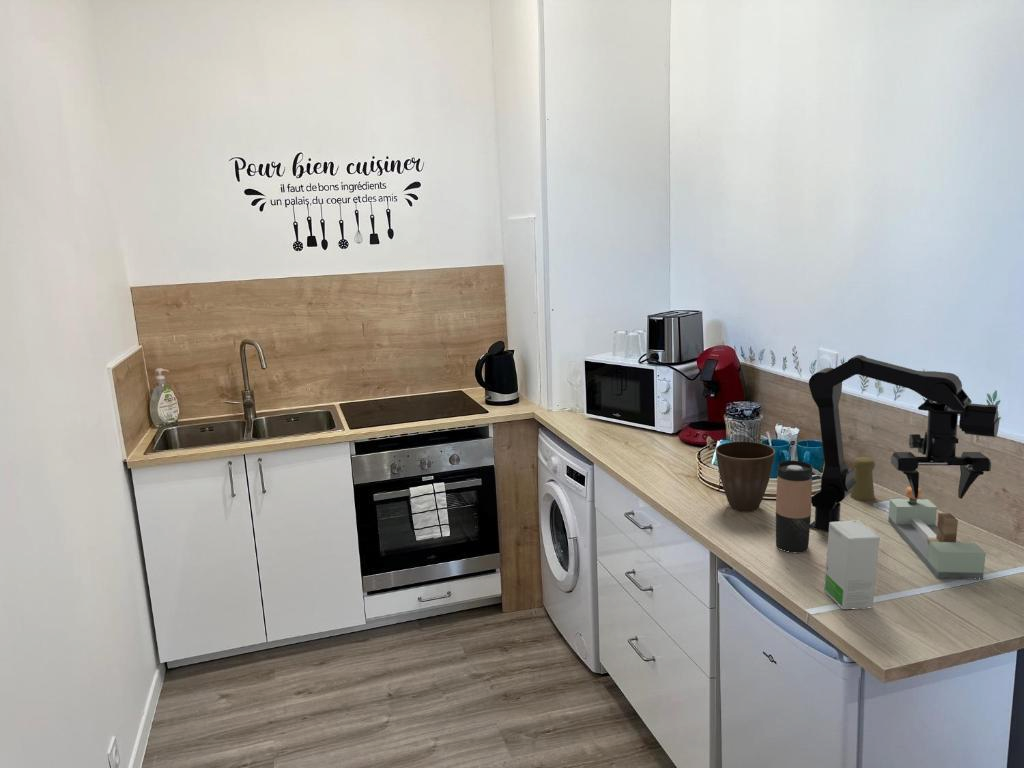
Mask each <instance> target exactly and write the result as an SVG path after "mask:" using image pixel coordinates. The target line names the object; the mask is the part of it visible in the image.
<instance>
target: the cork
mask: <svg viewBox="0 0 1024 768" xmlns="http://www.w3.org/2000/svg"><path fill="white" fill-rule="evenodd" d="M875 464H876V463H875V461H874V459H872V458H871V457H867V456H859V457H856V458H855V459H854V460H853V468H854V479H855V481H856V484H855V485H854V488H853V490H852V492H851V493H850V494H849V496H850V498H851V499H854V500H856V501H861V502H871V501H874V500H875V499H876V498H875V488H874V479H873V476H874V475H873V470H874V469H875V467H876V465H875Z"/></svg>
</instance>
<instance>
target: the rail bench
mask: <svg viewBox="0 0 1024 768" xmlns="http://www.w3.org/2000/svg"><path fill="white" fill-rule="evenodd" d="M909 499H910V498H908V499H906V498H904V499H903V498H902V499H901V498H897V499H896V498H895V499H894V498H890V499H889V507H888V508H889V509H888V521H887V522H888V523H889V525H890V526H891V527H892V528H893V529H894V530H895V532H896V533H897V534H898V535H899V536H900V537H901V539H902V540H903V541H904V542H905V543H906V544H907V545H908V547H909V548H910V549H911V550H912V551H913V552H914V553H915V555H916V556H917V557H918V558H919V559H920V561H921V562H922V563H923V564H924V566H925V567H926V568H927V569H928V570H929V571H930V572H931V573H932V575H933V576H935V578H936V579H946V580H947V579H951V580H954V578H955V579H956V578H973V579H972V580H984V572H985V563H986V551H984V550H983V549H982V547H980V546H979V545H978V544H977V543H976V542H965V541H964V542H960V541H959V542H930V546H928V545H927V544H926V541H927V537H930V538H936V536H937V524H936V521H937V512H938V511H937V509H938V508H937V507H938V506H937V505H935V504H934V503H933V502H932V501H931V500H930V499H927V498H926V499H923V498H922V499H921V498H920V499H917V505H910V504H909ZM974 578H976V579H974ZM979 578H980V579H979ZM956 580H957V579H956Z"/></svg>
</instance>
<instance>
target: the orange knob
mask: <svg viewBox="0 0 1024 768" xmlns="http://www.w3.org/2000/svg"><path fill="white" fill-rule="evenodd" d="M905 497H906V498H908V499H909V504H910V505H917V499H921V498H922V488H920V487H919V488H918V497H917V498H915V497H914V496H913V492H912V489H911V486H910V485H909V486H907V487H906V491H905Z"/></svg>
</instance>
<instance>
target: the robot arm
mask: <svg viewBox="0 0 1024 768" xmlns="http://www.w3.org/2000/svg"><path fill="white" fill-rule="evenodd" d="M856 375H858V376H863V377H866V378H870V379H873V380H877V381H881V382H883V383H888V384H891V385H895V386H899V387H902V388H905V389H909V390H912V391H914V392H915V393H917V394H918V395H920V396H921V397H923V398H925V400H924V402H923V403H921V404H920V405H919V406H917V409H918V410H919V411H925V412H926V411H927V423H926V424H927V425H926V426H927V427H926V428H927V429H926V431H925V432H924V437H922V436H921V434H918V433H917V434H913V433H911V434H909V439H908V445H909V448H910V449H917V453H918V454H919V453H920V454H922V455H925V456H915V455H914V454H913V452H911V451H894V452H893V453H892V455H891V459H890V460H891V461H890V463H891V465H892V466H894V468H895V469H896V470H897V471H900V472H902V473H903V475H906V478H907V479H908V483H909V487H910V486H911V489H912V492H913V496H914V497H915V498H917V497H918V488H920V487H919V483H920V482H919V481H920V472H919V471H918V468H919V466H959V469H960V476H959V482H958V492H957V493H958V494H957V496H958V498H959V499H960V500H962V499H963V498H964V496H965V495H966V494H967V491H968V490H969V488H970V487H971V486H972V484H973V483H974V482H975V481H976V480H977V478H979V476H983V475H984V474H985V472H990V471H991V470H992V461H991V459H990V458H989V457H987V456H986V455H985V454H983V453H982V452H980V451H963V452H962V453H961V456H957V455H956V452H957V451H956V450H957V449H956V447H957V444H959V438H958V435H957V434H958V427H959V429H961V432H964V434H965V435H970V436H971V435H972V436H980V437H987V438H988V437H989V438H997V435H998V433H999V427H1000V417H999V410H998V409H999V405H997V404H979V403H972V402H973V401H972V400H971V398H970V397H969V395H968V394H967V393H966V391H965V390H964V389H963V385H962V380H961V379H960V378H959V376H958V375H956V374H954V373H953V372H946V371H945V372H943V371H934V370H933V371H931V370H930V371H927V370H917V369H916V370H915V369H912V368H907V367H904V366H900V365H897V364H893V363H889V362H885V361H881V360H877V359H873V358H869V357H867V356H865V355H863V354H857V355H854V356H852V357H851V358H849V359H848V360H847V361H846V362H844V363H841V364H840V365H838V366H836V367H834V368H833V367H825V368H823V369H820V370H819V371H817V372H815V373H813V375H811V376H810V378H808V387H809V391H810V394H811V397H812V400H813V402H814V404H815V405H816V407H817V409H818V417H819V427H820V435H821V444H822V452H823V453H822V454H823V461H824V462H823V463H824V464H823V465H824V467H823V471H822V475H821V480H820V482H821V483H820V490H818V491H817V492H816V493H815V494H813V495H812V497H811V507H814V520H813V522H810V529H811V528H812V529H815V530H819V531H823V532H828V533H829V522H838V521H841V502H842V501H844V499H846V498H847V496H850V494H851V492H852V490H853V488H854V485H855V484H856V481H855V479H854V474H855V468H854V467H853V468H852V467H851V468H849V467H848V466H847V464H846V462H845V456H844V446H843V437H842V429H841V418H840V409H839V405H840V400H841V396H842V390H843V382H844V381H846V380H848V379H850V378H853V376H856ZM958 419H959V420H958ZM958 423H959V424H958Z"/></svg>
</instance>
